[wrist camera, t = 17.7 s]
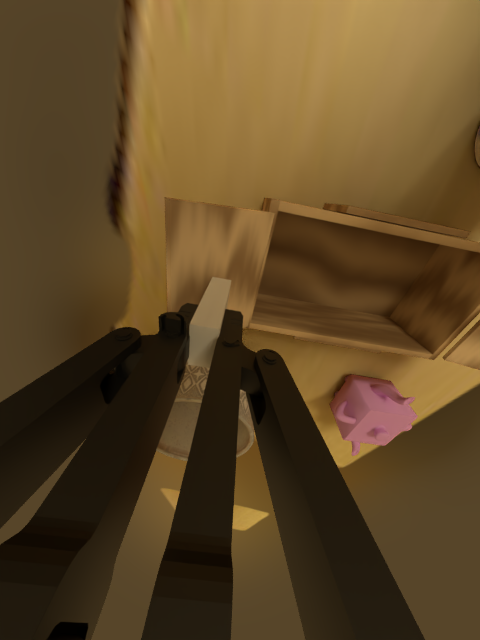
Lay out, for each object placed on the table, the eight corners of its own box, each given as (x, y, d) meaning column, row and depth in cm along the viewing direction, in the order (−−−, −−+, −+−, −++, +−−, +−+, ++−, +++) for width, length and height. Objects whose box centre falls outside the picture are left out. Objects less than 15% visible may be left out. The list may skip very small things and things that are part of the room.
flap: (270, 212, 17) (164, 197, 10) (274, 213, 17) (170, 199, 10) (244, 324, 24) (168, 361, 17) (247, 326, 23) (172, 365, 16)
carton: (265, 191, 25) (273, 189, 17) (451, 231, 27) (543, 247, 18) (243, 298, 34) (241, 332, 25) (386, 324, 35) (429, 364, 27)
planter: (172, 392, 48) (146, 458, 36) (162, 330, 38) (121, 392, 26) (248, 398, 48) (248, 467, 36) (258, 338, 38) (261, 404, 26)
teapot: (393, 398, 46) (429, 449, 37) (335, 413, 50) (355, 463, 41) (380, 355, 39) (420, 404, 30) (315, 377, 43) (332, 425, 34)
